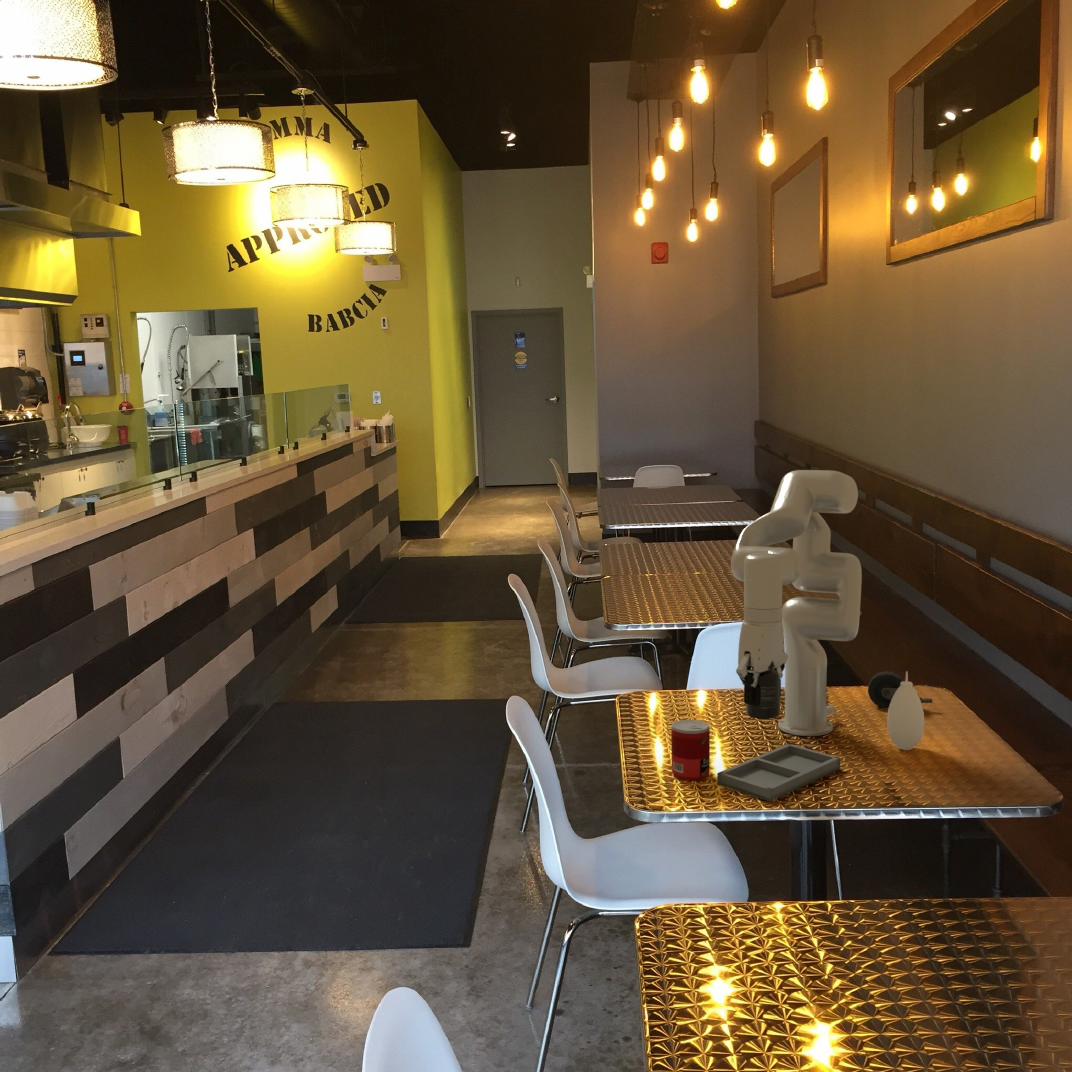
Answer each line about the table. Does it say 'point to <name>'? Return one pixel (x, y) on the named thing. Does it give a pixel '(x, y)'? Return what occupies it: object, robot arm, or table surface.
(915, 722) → the white air blower bulb
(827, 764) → the caddy
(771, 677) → the supplement bottle
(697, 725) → the canned food
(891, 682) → the caster wheel
